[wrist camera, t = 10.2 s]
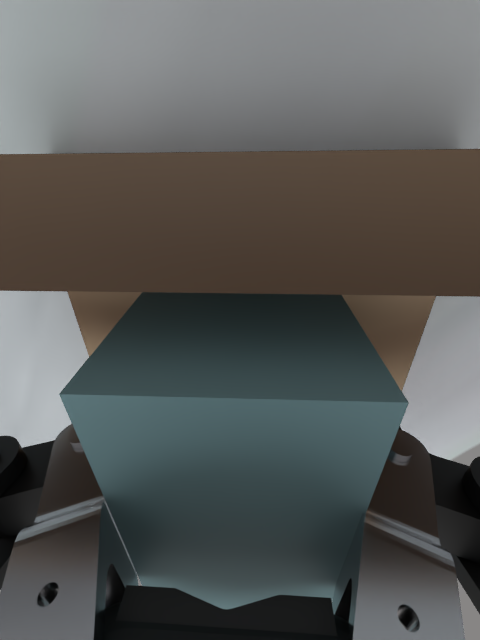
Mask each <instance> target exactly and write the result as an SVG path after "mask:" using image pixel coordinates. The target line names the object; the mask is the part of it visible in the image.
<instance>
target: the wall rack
mask: <svg viewBox="0 0 480 640" xmlns="http://www.w3.org/2000/svg"><path fill="white" fill-rule="evenodd" d="M0 290H4V291H67V292H68V295H69V298H70V301H71V304H72V307H73V310H74V313H75V316H76V319H77V322H78V325H79V328H80V331H81V334H82V337H83V340H84V342H85V345H86V348H87V351H88V354H89V357H90V356H91V355H92V353H93V352H94V351H95V350H96V348H97V347H98V346H99V345H100V344H101V342H102V341H103V340H104V339H105V337H106V336H107V335H108V334H109V332H110V331H111V330H112V329H113V328H114V326H115V325H116V324H117V323H118V321H119V320H120V319H121V318H122V317H123V315H124V314H125V313H126V312H127V310H128V309H129V308H130V307H131V305H132V304H133V303H134V302H135V301H136V299H137V298H138V297H139V296H140V294H141V293H142V292H163V293H243V294H322V295H342V296H343V298H344V300H345V301H346V303H347V305H348V306H349V308H350V309H351V311H352V313H353V314H354V316H355V317H356V319H357V321H358V322H359V324H360V325H361V327H362V329H363V330H364V332H365V333H366V335H367V337H368V338H369V340H370V341H371V343H372V345H373V346H374V348H375V350H376V351H377V353H378V354H379V356H380V358H381V359H382V361H383V362H384V364H385V366H386V367H387V369H388V370H389V372H390V374H391V375H392V377H393V378H394V380H395V382H396V383H397V385H398V386H399V388H400V390H401V391H402V389H403V386H404V383H405V381H406V378H407V375H408V372H409V370H410V367H411V364H412V361H413V358H414V356H415V353H416V350H417V347H418V345H419V342H420V339H421V336H422V334H423V331H424V328H425V325H426V322H427V320H428V317H429V314H430V311H431V309H432V306H433V303H434V300H435V298H436V296H480V149H435V150H347V151H259V152H171V153H83V154H0Z"/></svg>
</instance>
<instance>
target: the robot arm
mask: <svg viewBox="0 0 480 640" xmlns="http://www.w3.org/2000/svg"><path fill="white" fill-rule="evenodd" d="M457 578H458V580H459V582H460V583H461V585H462V586H463V588H464V590H465V591H466V593H467V594H468V596H469V597H470V599H471V601H472V602H473V604H474V606H475V607H476V609H477V610H478V612H479V614H480V457H477V458H475V459H474V460H473V461H472V463H471V465H470V466H467V465H463V464H460V463H457V462H454V461H450V460H447V459H444V458H440V457H437V456H434V455H432V454H430V453H428V451H427V450H426V448H425V447H424V445H423V444H422V443H421V442H420V441H419V440H417V439H416V438H415V437H414V436H412V435H410V434H409V433H407V432H405V431H402V429H401V428H400V426H399V429H398V431H397V434H396V436H395V439H394V442H393V444H392V447H391V449H390V452H389V455H388V457H387V460H386V462H385V465H384V467H383V470H382V473H381V475H380V478H379V480H378V483H377V486H376V488H375V491H374V493H373V496H372V498H371V501H370V504H369V506H368V509H367V511H366V514H365V513H362V516H361V518H360V521H359V524H358V526H357V529H356V532H355V534H354V537H353V540H352V543H351V545H350V548H349V551H348V553H347V556H346V558H345V561H344V564H343V566H342V569H341V571H340V574H339V577H338V579H337V582H336V586H335V591H334V596H333V601H331V598H325V597H309V596H293V595H276V596H273V597H270V598H266V599H263V600H259V601H256V602H253V603H249V604H246V605H242V606H239V607H236V608H232V609H222V608H219V607H217V606H214V605H212V604H210V603H208V602H206V601H203V600H201V599H199V598H197V597H194V596H192V595H190V594H188V593H185V592H183V591H181V590H179V589H176V588H167V587H151V586H138V580H137V573H136V570H135V568H134V565H133V563H132V561H131V558H130V556H129V554H128V551H127V549H126V547H125V545H124V542H123V540H122V538H121V535H120V533H119V531H118V528H117V526H116V524H115V521H114V519H113V517H112V515H111V512H110V510H109V508H108V505H107V503H106V501H105V498H104V496H103V494H102V491H101V489H100V487H99V485H98V482H97V480H96V478H95V475H94V473H93V471H92V468H91V466H90V464H89V461H88V459H87V457H86V455H85V452H84V450H83V448H82V445H81V443H80V441H79V438H78V436H77V434H76V432H75V429H74V427H73V425H72V424H71V425H69V426H68V427H66V428H65V429H64V430H63V431H62V432H61V433H60V434H59V435H58V436H57V438H56V440H54V441H50V442H46V443H41V444H37V445H33V446H28V447H24V448H22V447H21V446H20V444H19V442H18V441H17V439H15V438H14V437H11V436H0V589H1V588H2V589H1V592H0V640H465V637H464V629H463V621H462V614H461V606H460V598H459V591H458V583H457Z"/></svg>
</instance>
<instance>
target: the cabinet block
mask: <svg viewBox="0 0 480 640" xmlns="http://www.w3.org/2000/svg"><path fill="white" fill-rule="evenodd" d="M59 395H60V397H61V399H62V402H63V404H64V406H65V408H66V411H67V413H68V415H69V418H70V420H71V422H72V425H73V427H74V429H75V432H76V434H77V436H78V438H79V441H80V443H81V445H82V448H83V450H84V452H85V455H86V457H87V459H88V461H89V464H90V466H91V468H92V471H93V473H94V475H95V478H96V480H97V482H98V485H99V487H100V489H101V491H102V494H103V496H104V498H105V501H106V503H107V505H108V508H109V510H110V512H111V515H112V517H113V519H114V521H115V524H116V526H117V528H118V531H119V533H120V535H121V538H122V540H123V542H124V545H125V547H126V549H127V551H128V554H129V556H130V558H131V561H132V563H133V565H134V568H135V570H136V572H137V575H138V576H139V579H140V581H141V584H142V586H151V587H167V588H176V589H179V590H181V591H183V592H185V593H188V594H190V595H192V596H194V597H197V598H199V599H201V600H203V601H206V602H208V603H210V604H212V605H214V606H217V607H219V608H222V609H232V608H236V607H239V606H242V605H246V604H249V603H253V602H256V601H259V600H263V599H266V598H270V597H273V596H276V595H293V596H309V597H325V598H331V601H332V599H333V596H334V591H335V586H336V582H337V579H338V577H339V574H340V571H341V569H342V566H343V564H344V561H345V558H346V556H347V553H348V551H349V548H350V545H351V543H352V540H353V537H354V534H355V532H356V529H357V526H358V524H359V521H360V518H361V516H362V513H365V514H366V511H367V509H368V506H369V504H370V501H371V498H372V496H373V493H374V491H375V488H376V486H377V483H378V480H379V478H380V475H381V473H382V470H383V467H384V465H385V462H386V460H387V457H388V455H389V452H390V449H391V447H392V444H393V442H394V439H395V436H396V434H397V431H398V429H399V426H400V424H401V421H402V418H403V416H404V413H405V411H406V408H407V405H408V401H407V399H406V398H405V396H404V395H403V393H402V391H401V390H400V388H399V386H398V385H397V383H396V382H395V380H394V378H393V377H392V375H391V374H390V372H389V370H388V369H387V367H386V366H385V364H384V362H383V361H382V359H381V358H380V356H379V354H378V353H377V351H376V350H375V348H374V346H373V345H372V343H371V341H370V340H369V338H368V337H367V335H366V333H365V332H364V330H363V329H362V327H361V325H360V324H359V322H358V321H357V319H356V317H355V316H354V314H353V313H352V311H351V309H350V308H349V306H348V305H347V303H346V301H345V300H344V298H343V296H342V295H322V294H243V293H163V292H142V293H141V294H140V296H139V297H138V298H137V299H136V301H135V302H134V303H133V304H132V305H131V307H130V308H129V309H128V310H127V312H126V313H125V314H124V315H123V317H122V318H121V319H120V320H119V321H118V323H117V324H116V325H115V326H114V328H113V329H112V330H111V331H110V332H109V334H108V335H107V336H106V337H105V339H104V340H103V341H102V342H101V344H100V345H99V346H98V347H97V348H96V350H95V351H94V352H93V353H92V355H91V356H90V357H89V358H88V360H87V361H86V362H85V363H84V364H83V366H82V367H81V368H80V369H79V371H78V372H77V373H76V374H75V376H74V377H73V378H72V379H71V380H70V382H69V383H68V384H67V385H66V387H65V388H64V389H63V390H62V391H61V393H60V394H59Z"/></svg>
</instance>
